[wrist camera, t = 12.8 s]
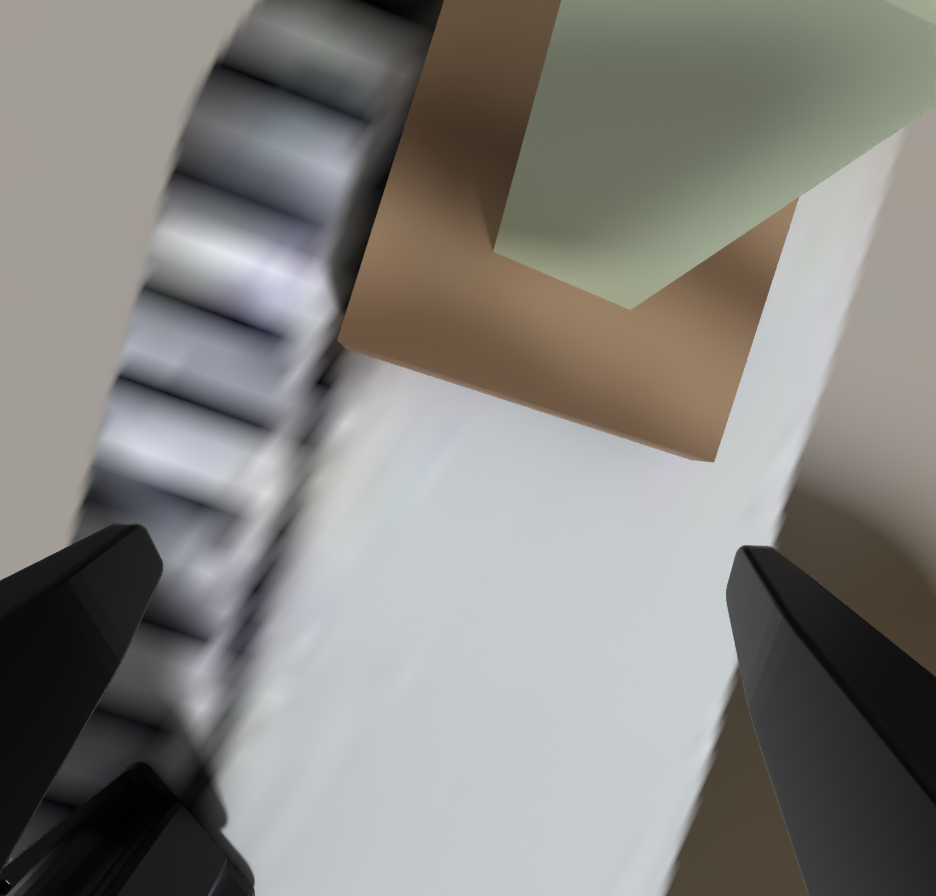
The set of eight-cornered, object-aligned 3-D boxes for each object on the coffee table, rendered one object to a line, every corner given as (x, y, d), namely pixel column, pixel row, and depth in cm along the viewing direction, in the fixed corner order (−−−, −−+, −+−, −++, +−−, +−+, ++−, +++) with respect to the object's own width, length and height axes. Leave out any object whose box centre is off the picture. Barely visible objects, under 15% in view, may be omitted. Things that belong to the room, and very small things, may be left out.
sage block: (630, 310, 16) (1006, 58, 5) (493, 251, 16) (597, -135, 5) (686, 172, 16) (1175, -359, 5) (549, 111, 16) (774, -572, 5)
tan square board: (672, 458, 20) (714, 462, 17) (353, 355, 19) (336, 340, 16) (774, 140, 20) (834, 87, 17) (456, 27, 19) (459, -50, 16)
